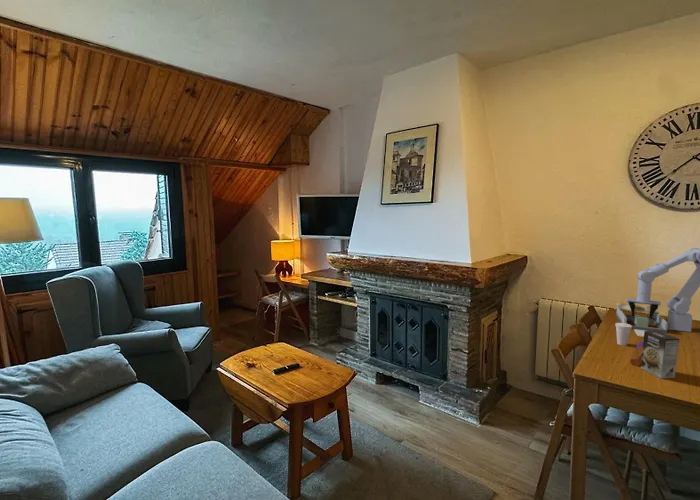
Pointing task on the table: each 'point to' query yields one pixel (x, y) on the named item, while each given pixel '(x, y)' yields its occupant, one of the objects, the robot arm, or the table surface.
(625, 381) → the table surface
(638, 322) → the block
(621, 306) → the lid
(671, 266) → the robot arm
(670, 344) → the grey cardboard box
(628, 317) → the grey shallow open box
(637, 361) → the kendama
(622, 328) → the smoothie
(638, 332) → the tile
